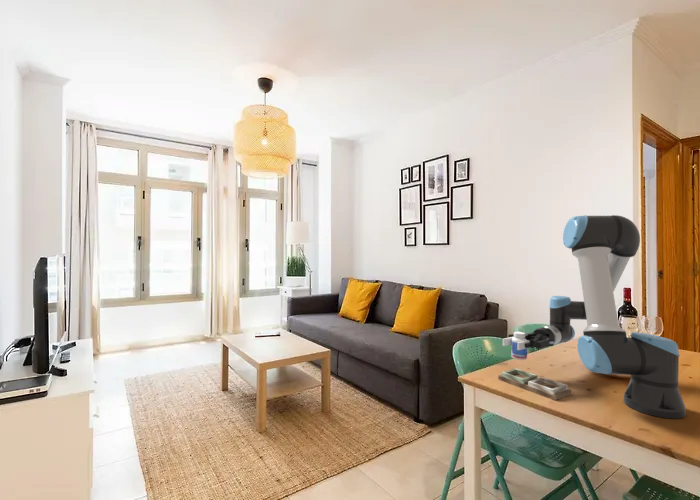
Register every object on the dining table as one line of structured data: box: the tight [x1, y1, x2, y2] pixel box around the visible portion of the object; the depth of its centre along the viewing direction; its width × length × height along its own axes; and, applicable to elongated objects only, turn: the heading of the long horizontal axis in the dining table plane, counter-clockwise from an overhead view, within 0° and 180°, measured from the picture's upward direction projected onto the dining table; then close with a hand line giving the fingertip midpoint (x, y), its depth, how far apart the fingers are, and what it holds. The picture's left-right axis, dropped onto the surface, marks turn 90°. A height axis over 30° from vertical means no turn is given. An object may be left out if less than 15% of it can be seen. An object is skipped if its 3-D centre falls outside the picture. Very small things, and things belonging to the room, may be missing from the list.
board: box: [497, 368, 572, 401], centre depth 131 cm, size 22×10×3 cm, turn 31°
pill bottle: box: [511, 331, 528, 361], centre depth 136 cm, size 6×5×10 cm
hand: (510, 344), depth 133 cm, fingers closed on pill bottle, 5 cm apart
